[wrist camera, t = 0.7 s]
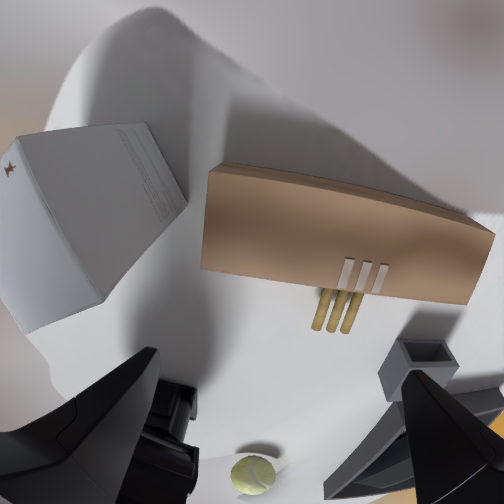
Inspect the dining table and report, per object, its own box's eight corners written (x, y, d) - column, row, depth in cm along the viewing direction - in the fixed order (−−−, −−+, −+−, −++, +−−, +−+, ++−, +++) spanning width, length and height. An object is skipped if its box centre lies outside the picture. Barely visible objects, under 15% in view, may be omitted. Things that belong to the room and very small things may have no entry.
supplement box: (78, 168, 20) (-44, 219, 9) (147, 120, 18) (15, 129, 7) (118, 245, 23) (23, 338, 11) (191, 207, 21) (105, 305, 10)
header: (422, 323, 24) (440, 354, 20) (209, 297, 24) (197, 331, 20) (465, 215, 19) (496, 234, 15) (222, 162, 19) (208, 171, 15)
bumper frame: (414, 472, 40) (418, 486, 36) (323, 482, 40) (324, 500, 36) (498, 387, 28) (507, 405, 25) (395, 399, 29) (403, 424, 25)
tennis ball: (253, 503, 32) (281, 495, 29) (216, 488, 32) (242, 480, 29) (260, 472, 38) (287, 461, 35) (227, 456, 37) (251, 444, 35)
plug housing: (424, 371, 27) (436, 398, 23) (377, 371, 27) (386, 401, 23) (443, 339, 25) (459, 366, 21) (395, 337, 25) (409, 367, 21)
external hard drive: (467, 425, 32) (474, 442, 28) (378, 475, 39) (380, 492, 35) (447, 406, 29) (456, 427, 26) (340, 464, 36) (342, 485, 32)
